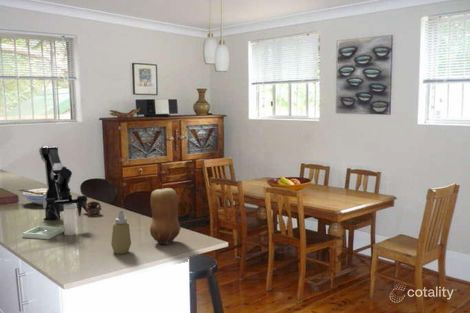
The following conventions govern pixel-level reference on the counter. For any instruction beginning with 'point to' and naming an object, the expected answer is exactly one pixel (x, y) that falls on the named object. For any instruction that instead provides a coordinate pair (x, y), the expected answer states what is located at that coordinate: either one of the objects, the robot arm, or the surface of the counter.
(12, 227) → the counter surface
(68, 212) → the cylinder
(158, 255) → the counter surface
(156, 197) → the butternut squash
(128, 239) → the squeeze bottle
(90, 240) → the counter surface
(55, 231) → the tray
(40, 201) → the ramen bowl
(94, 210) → the pottery mug
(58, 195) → the robot arm
